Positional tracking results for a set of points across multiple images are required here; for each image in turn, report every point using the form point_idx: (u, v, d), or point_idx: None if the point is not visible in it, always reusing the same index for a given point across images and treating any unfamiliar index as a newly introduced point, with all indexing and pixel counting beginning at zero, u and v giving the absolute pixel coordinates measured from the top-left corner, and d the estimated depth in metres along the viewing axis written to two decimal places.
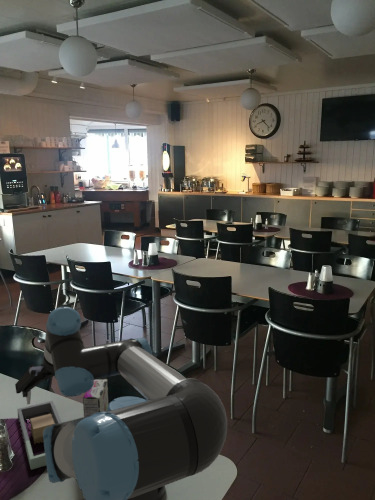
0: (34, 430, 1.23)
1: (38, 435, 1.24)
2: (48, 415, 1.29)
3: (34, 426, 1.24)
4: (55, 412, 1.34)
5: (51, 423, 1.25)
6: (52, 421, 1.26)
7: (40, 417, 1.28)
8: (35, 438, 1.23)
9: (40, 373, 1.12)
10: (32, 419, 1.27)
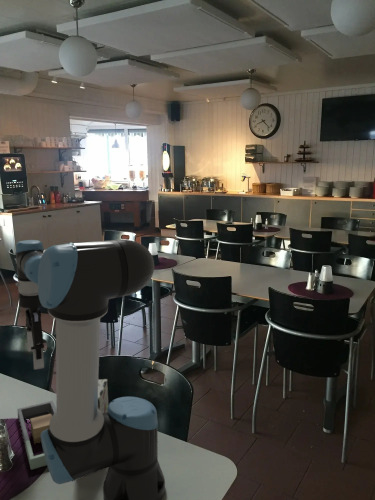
0: (34, 430, 1.23)
1: (38, 435, 1.24)
2: (48, 415, 1.29)
3: (34, 426, 1.24)
4: (55, 412, 1.34)
5: None
6: None
7: (40, 417, 1.28)
8: (35, 438, 1.23)
9: None
10: (32, 419, 1.27)
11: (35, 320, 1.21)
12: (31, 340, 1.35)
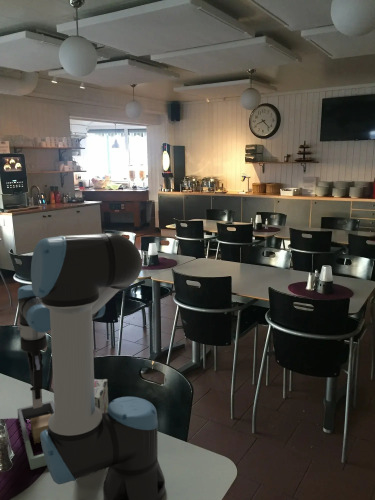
0: (34, 430, 1.23)
1: (38, 435, 1.24)
2: (48, 415, 1.29)
3: (34, 426, 1.24)
4: None
5: None
6: None
7: (40, 417, 1.28)
8: (35, 438, 1.23)
9: None
10: (32, 419, 1.27)
11: (37, 369, 1.26)
12: None
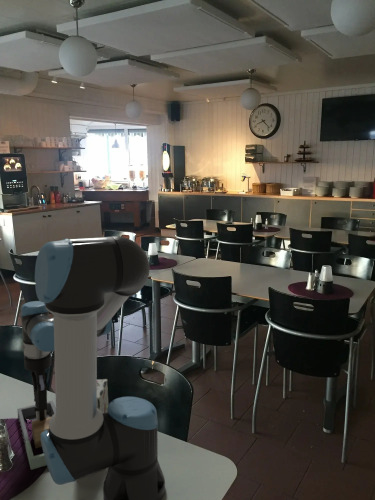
0: (35, 433, 1.21)
1: (40, 439, 1.22)
2: (49, 418, 1.28)
3: (35, 429, 1.22)
4: None
5: None
6: None
7: (41, 420, 1.26)
8: (36, 441, 1.21)
9: None
10: (33, 422, 1.26)
11: (41, 390, 1.21)
12: None
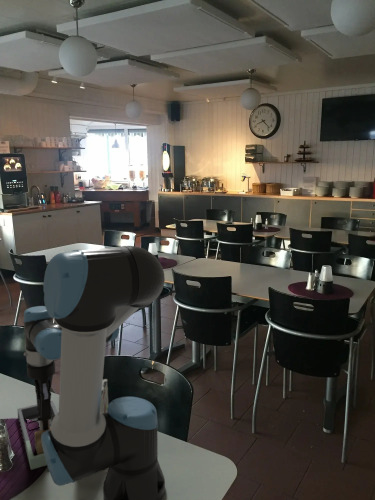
0: (39, 445, 1.16)
1: None
2: None
3: (39, 440, 1.17)
4: (55, 412, 1.34)
5: None
6: None
7: (44, 431, 1.21)
8: (40, 453, 1.16)
9: None
10: (36, 432, 1.21)
11: (45, 399, 1.16)
12: None
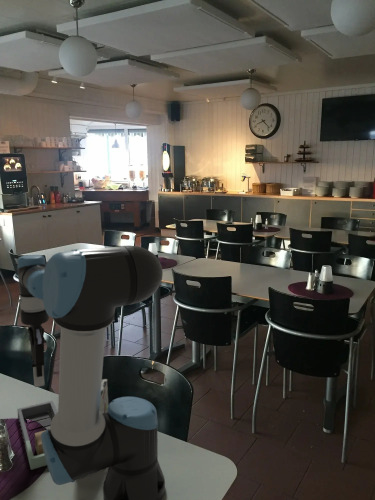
0: (39, 446, 1.16)
1: None
2: None
3: (39, 441, 1.17)
4: (55, 412, 1.34)
5: None
6: None
7: None
8: None
9: None
10: (37, 434, 1.20)
11: (38, 343, 1.19)
12: None
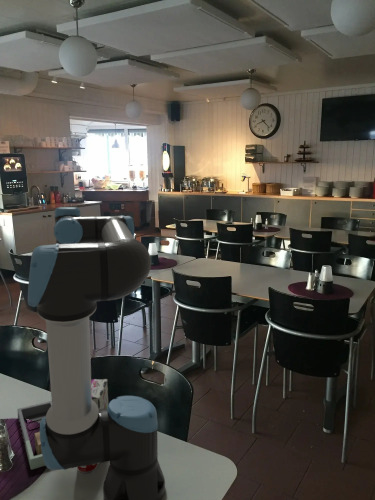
0: (39, 446, 1.16)
1: None
2: None
3: (39, 441, 1.17)
4: None
5: None
6: None
7: None
8: None
9: None
10: (36, 434, 1.20)
11: None
12: None
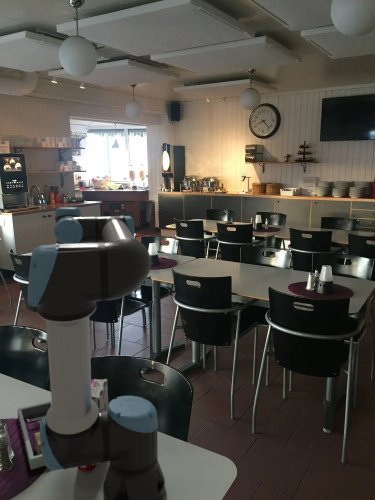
0: (39, 446, 1.16)
1: None
2: None
3: (39, 441, 1.17)
4: None
5: None
6: None
7: None
8: None
9: None
10: (36, 434, 1.20)
11: None
12: None
